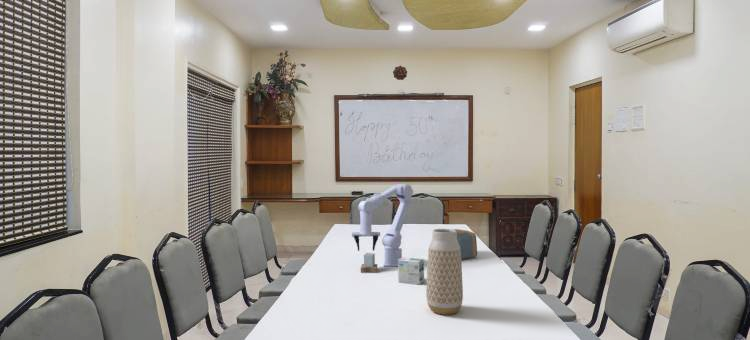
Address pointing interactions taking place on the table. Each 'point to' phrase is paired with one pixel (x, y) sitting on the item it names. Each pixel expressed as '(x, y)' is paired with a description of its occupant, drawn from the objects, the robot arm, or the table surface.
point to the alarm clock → (467, 244)
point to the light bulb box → (411, 270)
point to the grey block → (369, 259)
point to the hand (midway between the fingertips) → (366, 250)
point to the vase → (444, 273)
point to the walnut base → (369, 269)
